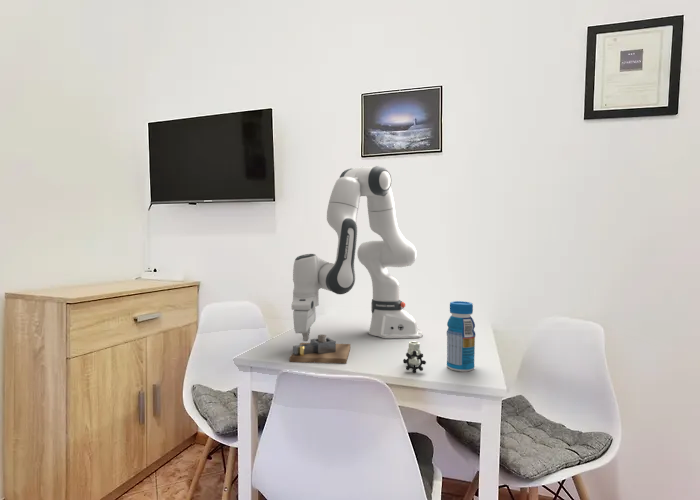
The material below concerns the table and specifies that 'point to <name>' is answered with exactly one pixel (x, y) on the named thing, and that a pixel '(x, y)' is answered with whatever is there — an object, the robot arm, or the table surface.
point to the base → (333, 357)
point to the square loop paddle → (316, 347)
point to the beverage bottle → (460, 337)
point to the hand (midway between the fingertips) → (306, 340)
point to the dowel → (301, 350)
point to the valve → (414, 357)
